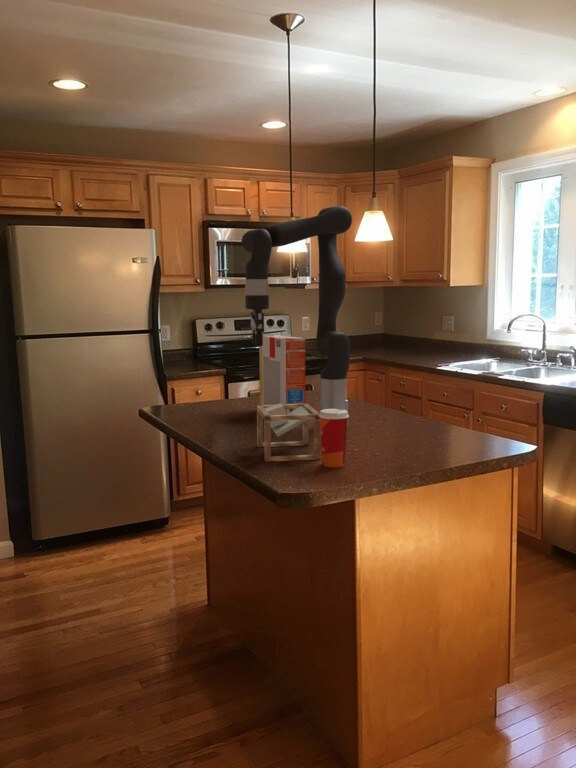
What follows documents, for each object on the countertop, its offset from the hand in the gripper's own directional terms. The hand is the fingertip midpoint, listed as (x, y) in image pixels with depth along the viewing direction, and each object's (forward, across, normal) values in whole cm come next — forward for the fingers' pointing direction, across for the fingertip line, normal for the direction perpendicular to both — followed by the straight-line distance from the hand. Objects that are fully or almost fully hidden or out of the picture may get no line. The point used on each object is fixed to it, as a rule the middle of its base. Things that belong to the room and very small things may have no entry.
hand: (257, 345), depth 207 cm
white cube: (+21, -22, -4) cm, 31 cm away
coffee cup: (+30, -38, -16) cm, 51 cm away
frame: (+30, -22, -6) cm, 38 cm away
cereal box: (+30, +39, -14) cm, 51 cm away
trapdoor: (+21, -22, -7) cm, 31 cm away
